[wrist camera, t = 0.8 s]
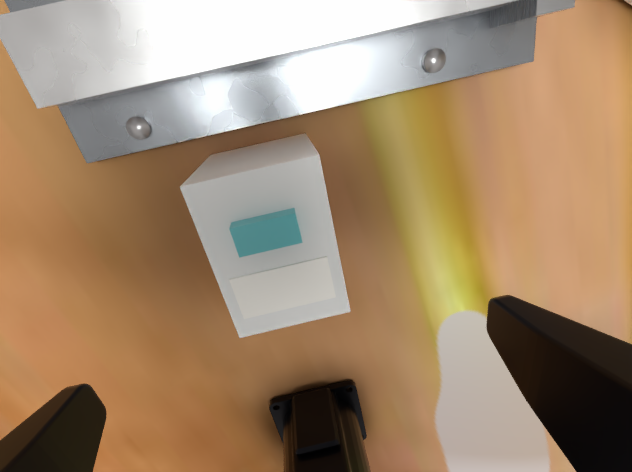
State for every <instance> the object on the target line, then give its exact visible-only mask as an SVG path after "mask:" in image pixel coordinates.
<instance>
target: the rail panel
mask: <svg viewBox="0 0 632 472" xmlns="http://www.w3.org/2000/svg"><path fill="white" fill-rule="evenodd" d="M5 2H6V4H7V6H8V8H9V10H10V12H11V13H6V14H2V15H0V39H1V41H2V42H3V44H4V46H5V48H6V50H7V52H8V54H9V56H10V58H11V59H12V61H13V63H14V65H15V67H16V69H17V71H18V73H19V74H20V76H21V78H22V80H23V82H24V84H25V86H26V88H27V89H28V91H29V93H30V95H31V97H32V99H33V101H34V103H35V104H36V106H37V108H38V109H39V108H50V107H59V109H60V111H61V113H62V115H63V117H64V119H65V121H66V123H67V125H68V127H69V129H70V131H71V133H72V135H73V137H74V139H75V141H76V143H77V145H78V147H79V149H80V151H81V153H82V155H83V157H84V158H85V160H86V162H87V163H91V162H95V161H99V160H104V159H108V158H112V157H117V156H121V155H126V154H130V153H134V152H139V151H143V150H147V149H152V148H156V147H161V146H165V145H169V144H174V143H178V142H182V141H187V140H191V139H196V138H200V137H204V136H209V135H213V134H217V133H222V132H226V131H231V130H235V129H239V128H244V127H248V126H252V125H257V124H261V123H265V122H270V121H274V120H279V119H283V118H287V117H292V116H296V115H300V114H305V113H309V112H314V111H318V110H322V109H327V108H331V107H335V106H340V105H344V104H349V103H353V102H357V101H362V100H366V99H370V98H375V97H379V96H384V95H388V94H392V93H397V92H401V91H405V90H410V89H414V88H419V87H423V86H427V85H432V84H436V83H440V82H445V81H449V80H454V79H458V78H462V77H467V76H471V75H475V74H480V73H484V72H488V71H493V70H497V69H502V68H506V67H510V66H515V65H519V64H523V63H528V62H532V61H534V48H535V34H536V20H537V17H540V16H544V15H547V14H551V13H555V12H559V11H562V10H566V9H570V8H573V7H574V5H575V0H5Z"/></svg>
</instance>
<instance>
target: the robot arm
mask: <svg viewBox="0 0 632 472" xmlns="http://www.w3.org/2000/svg"><path fill="white" fill-rule="evenodd" d="M487 332H488V334H489V337H490V338H491V340H492V342H493V344H494V346H495V347H496V349H497V351H498V353H499V354H500V356H501V358H502V359H503V361H504V363H505V365H506V366H507V368H508V370H509V372H510V373H511V375H512V377H513V379H514V380H515V382H516V384H517V386H518V387H519V389H520V391H521V392H522V394H523V396H524V397H525V399H526V401H527V402H528V403H529V405H530V406H531V408H532V409H533V411H534V412H535V414H536V415H537V416H538V418H539V419H540V421H541V422H542V424H543V425H544V426H545V428H546V429H547V431H548V432H549V433H550V435H551V436H552V438H553V439H554V440H555V442H556V443H557V445H558V446H559V448H560V449H561V450H562V452H563V453H564V455H565V456H566V457H567V459H568V460H569V462H570V463H571V464H572V466H573V467H574V469H575V470H576V471H577V472H632V344H630V343H627V342H625V341H622V340H620V339H617V338H615V337H612V336H610V335H607V334H605V333H602V332H600V331H597V330H595V329H593V328H590V327H588V326H585V325H583V324H580V323H578V322H575V321H573V320H570V319H568V318H565V317H563V316H560V315H558V314H555V313H553V312H550V311H548V310H546V309H543V308H541V307H538V306H536V305H533V304H531V303H528V302H526V301H523V300H521V299H518V298H516V297H513V296H510V295H504V296H500V297H495V298H492V299H490V301H489V304H488V314H487ZM349 387H350V388H349ZM269 408H270V412H271V414H272V417H273V419H274V422H275V424H276V427H277V429H278V432H279V434H280V437H281V439H282V442H283V448H284V472H371V471H370V466H369V462H368V458H367V454H366V450H365V446H364V442H363V440H364V439H366V436H367V435H366V431H365V426H364V421H363V417H362V412H361V408H360V403H359V398H358V394H357V389H356V385H355V383H354V382H353V381H344V382H340V383H336V384H332V385H328V386H324V387H319V388H315V389H311V390H307V391H303V392H299V393H295V394H291V395H286V396H282V397H278V398H274V399H272V400H271V401H270V405H269ZM105 421H106V408H105V406H104V404H103V403H102V401H101V400H100V399H99V397H98V396H97V394H96V393H95V391H94V390H93V388H92V387H91V386H90V385H88V384H79V385H74V386H70V387H67V388H65V389H63V390H62V391H61V392H59V393H58V394H57V395H56V396H54V397H53V398H52V399H51V400H49V401H48V402H47V403H46V404H45V405H43V406H42V407H41V408H40V409H38V410H37V411H36V412H35V413H33V414H32V415H31V416H30V417H29V418H27V419H26V420H25V421H24V422H22V423H21V424H20V425H19V426H17V427H16V428H15V429H14V430H13V431H11V432H10V433H9V434H8V435H6V436H5V437H4V438H3V439H1V440H0V472H93V468H94V464H95V460H96V456H97V452H98V448H99V444H100V440H101V437H102V433H103V429H104V425H105Z"/></svg>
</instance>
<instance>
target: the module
mask: <svg viewBox="0 0 632 472" xmlns="http://www.w3.org/2000/svg"><path fill="white" fill-rule="evenodd" d="M180 189H181V191H182V194H183V196H184V199H185V202H186V204H187V207H188V209H189V212H190V214H191V217H192V219H193V222H194V224H195V227H196V229H197V232H198V234H199V237H200V239H201V242H202V244H203V247H204V249H205V252H206V254H207V257H208V260H209V262H210V265H211V267H212V270H213V272H214V275H215V277H216V280H217V282H218V285H219V287H220V290H221V292H222V295H223V297H224V300H225V302H226V305H227V307H228V310H229V312H230V315H231V318H232V320H233V323H234V325H235V328H236V330H237V333H238V335H239V338H242V337H247V336H251V335H255V334H259V333H263V332H267V331H272V330H276V329H280V328H284V327H288V326H293V325H297V324H301V323H305V322H309V321H314V320H318V319H322V318H326V317H330V316H335V315H339V314H343V313H347V312H351V311H350V306H349V301H348V296H347V291H346V286H345V281H344V276H343V271H342V266H341V261H340V256H339V251H338V246H337V241H336V236H335V231H334V226H333V220H332V215H331V210H330V205H329V200H328V195H327V190H326V185H325V180H324V175H323V170H322V165H321V160H320V155H319V153H318V152H317V150H316V149H315V147H314V145H313V144H312V142H311V141H310V139H309V138H308V136H307V135H306V133H303V134H299V135H295V136H290V137H286V138H282V139H277V140H273V141H269V142H264V143H260V144H256V145H251V146H247V147H242V148H238V149H234V150H229V151H225V152H221V153H216V154H212V155H210V156H209V157H208V158H207V159H206V160H205V161H204V162H203V163H202V164H201V165H200V166H199V167H198V168H197V169H196V170H195V171H194V173H193V174H192V175H191V176H190V177H189V178H188V179H187V180H186V181H185V182H184V183H183V184H182V185H181V186H180Z"/></svg>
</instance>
